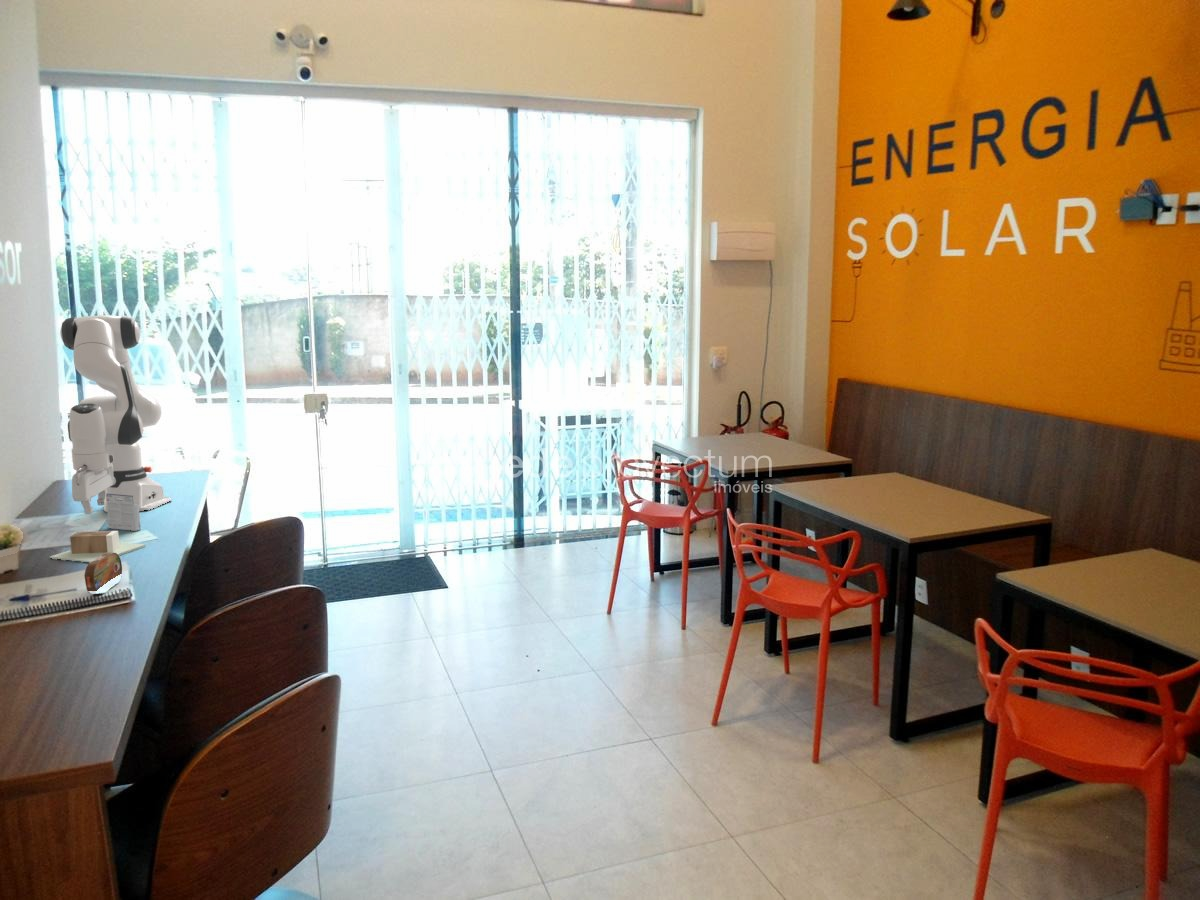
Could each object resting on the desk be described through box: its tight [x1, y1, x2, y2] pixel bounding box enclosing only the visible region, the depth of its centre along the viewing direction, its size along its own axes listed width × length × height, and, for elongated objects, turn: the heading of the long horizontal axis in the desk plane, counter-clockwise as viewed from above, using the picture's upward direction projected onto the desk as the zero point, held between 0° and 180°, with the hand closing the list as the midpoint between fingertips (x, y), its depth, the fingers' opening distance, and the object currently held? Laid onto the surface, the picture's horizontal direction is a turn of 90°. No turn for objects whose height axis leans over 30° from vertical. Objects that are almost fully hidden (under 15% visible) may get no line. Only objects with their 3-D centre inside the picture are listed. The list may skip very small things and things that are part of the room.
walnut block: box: [69, 530, 120, 554], centre depth 257 cm, size 5×5×11 cm
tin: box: [83, 553, 123, 592], centre depth 225 cm, size 15×3×8 cm, turn 5°
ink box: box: [106, 494, 141, 532], centre depth 281 cm, size 12×2×12 cm, turn 71°
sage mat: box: [49, 541, 146, 563], centre depth 257 cm, size 18×16×1 cm
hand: (95, 509), depth 255 cm, fingers open, 8 cm apart
